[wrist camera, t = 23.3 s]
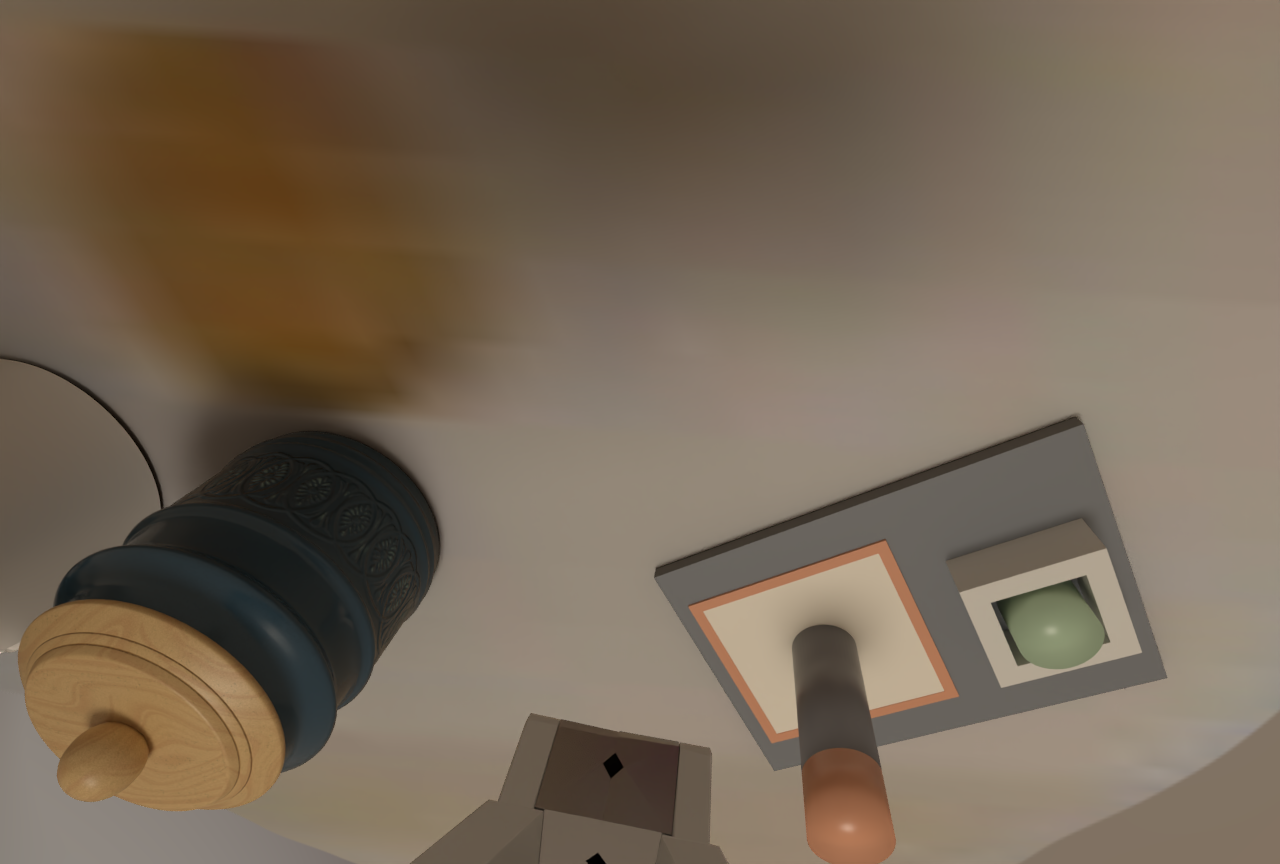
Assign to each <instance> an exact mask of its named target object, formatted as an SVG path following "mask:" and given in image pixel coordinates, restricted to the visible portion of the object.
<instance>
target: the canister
mask: <svg viewBox="0 0 1280 864" xmlns="http://www.w3.org/2000/svg"><path fill="white" fill-rule="evenodd" d="M438 558H439V536H438V531H437V526H436V523H435V520H434V517H433V514H432V512H431V510H430V508H429V505H428V504H427V502H426V500H425V498H424V497H423V495H422V494H421V492H420V491H419V489H418V488H417V487H416V485H415V484H414V483H413V482H412V481H411V479H410V478H409V477H408V476H407V475H406V474H405V473H404V472H403V471H402V470H401V469H400V468H399V467H397V466H396V465H395V464H394V463H393V462H391V461H390V460H389V459H387V458H386V457H385V456H383V455H382V454H380V453H379V452H377V451H375V450H374V449H372V448H370V447H368V446H366V445H364V444H362V443H360V442H358V441H355V440H352V439H350V438H347V437H344V436H340V435H336V434H332V433H326V432H316V431H305V432H295V433H290V434H286V435H283V436H280V437H277V438H275V439H271V440H268V441H265V442H262V443H259V444H257V445H255V446H253V447H251V448H250V449H248V450H246V451H245V452H244V453H242V454H240V455H239V456H237V457H236V458H234V459H233V460H231V461H230V462H229V463H228V464H227V465H226V466H225V467H224V468H223V470H222V471H221V472H220V473H218V474H217V475H215V476H214V477H212V478H211V479H209V480H208V481H206V482H205V483H203V484H202V485H200V486H199V487H197V488H196V489H194V490H193V491H191V492H190V493H188V494H187V495H185V496H184V497H182V498H181V499H180V500H178V501H177V502H175V503H174V504H172V505H171V506H169V507H166V508H163V509H160V510H158V511H156V512H154V513H152V514H150V515H148V516H147V517H145V518H144V519H143V520H141V521H140V522H139V523H138V524H137V525H136V526H135V527H134V528H133V529H132V530H131V531H130V533H129V534H128V535H127V537H126V539H125V540H124V542H123V544H122V545H121V546H115V547H110V548H106V549H103V550H100V551H97V552H95V553H93V554H91V555H89V556H87V557H85V558H83V559H82V560H80V561H79V562H78V563H76V564H75V565H74V566H73V567H72V568H71V569H70V570H69V571H68V572H67V573H66V575H65V576H64V577H63V579H62V580H61V582H60V584H59V586H58V588H57V591H56V594H55V597H54V602H53V608H51V609H49V610H47V611H45V612H44V613H42V614H41V615H39V616H38V617H37V618H36V619H35V620H34V621H33V622H32V623H31V624H30V625H29V626H28V628H27V629H26V631H25V632H24V634H23V636H22V639H21V642H20V646H19V652H18V665H19V672H20V677H21V681H22V684H23V687H24V689H25V703H26V707H27V711H28V714H29V716H30V719H31V721H32V723H33V725H34V727H35V729H36V730H37V732H38V734H39V735H40V737H41V738H42V739H43V741H44V742H45V743H46V744H47V746H48V747H49V748H50V749H51V750H52V751H53V752H54V753H55V755H56V756H57V757H59V759H60V762H59V765H58V770H57V778H58V783H59V785H60V787H61V788H62V790H63V791H64V792H65V793H66V794H68V795H69V796H70V797H72V798H74V799H77V800H81V801H85V802H95V801H100V800H104V799H106V798H110V797H112V796H116V797H118V798H121V799H123V800H126V801H128V802H131V803H134V804H137V805H141V806H144V807H149V808H153V809H158V810H166V811H187V810H194V809H207V810H209V809H211V810H214V809H227V808H233V807H237V806H241V805H244V804H247V803H249V802H252V801H254V800H256V799H257V798H259V797H261V796H262V795H263V794H265V793H266V792H267V791H268V790H269V789H270V788H271V787H272V786H273V784H274V783H275V782H276V780H277V779H278V777H279V775H280V773H282V772H285V771H288V770H291V769H294V768H296V767H298V766H301V765H302V764H304V763H306V762H307V761H309V760H310V759H311V758H313V757H314V756H315V755H316V754H317V753H318V752H320V750H321V749H322V748H323V747H324V746H325V744H326V743H327V741H328V739H329V738H330V735H331V733H332V731H333V728H334V725H335V721H336V716H337V710H339V709H340V708H342V707H344V706H345V705H347V704H348V703H349V702H351V701H352V700H353V699H354V698H355V697H356V696H357V695H358V694H359V693H360V692H361V691H362V690H363V688H364V687H365V685H366V684H367V682H368V680H369V678H370V676H371V673H372V670H373V667H374V665H375V664H376V662H377V661H378V659H379V658H380V656H381V655H382V653H383V652H384V650H385V649H386V647H387V646H388V645H389V643H390V642H391V640H392V639H393V637H394V636H395V634H396V633H397V631H398V630H399V628H400V627H401V625H402V624H403V623H404V622H405V621H406V620H407V619H408V618H409V617H410V616H411V615H412V614H413V613H414V612H415V611H416V609H417V608H418V606H419V605H420V603H421V601H422V600H423V599H424V597H425V596H426V594H427V592H428V590H429V588H430V585H431V582H432V579H433V575H434V572H435V570H436V567H437V563H438Z"/></svg>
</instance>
